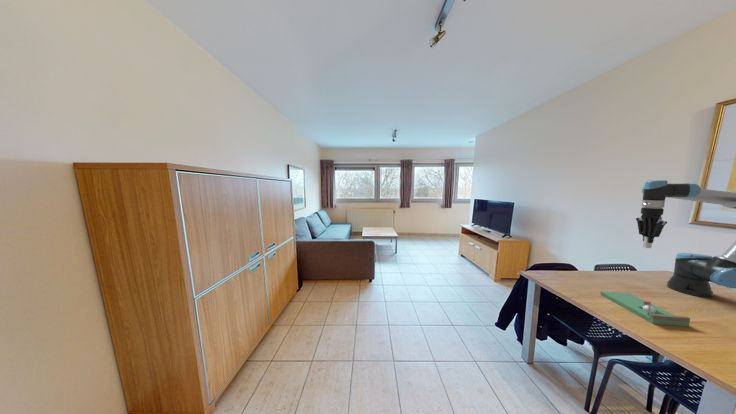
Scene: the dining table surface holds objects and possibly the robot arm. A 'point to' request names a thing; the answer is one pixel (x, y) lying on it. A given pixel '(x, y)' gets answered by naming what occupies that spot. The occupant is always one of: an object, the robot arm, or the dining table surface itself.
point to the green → (636, 307)
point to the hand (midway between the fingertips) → (647, 247)
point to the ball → (652, 310)
